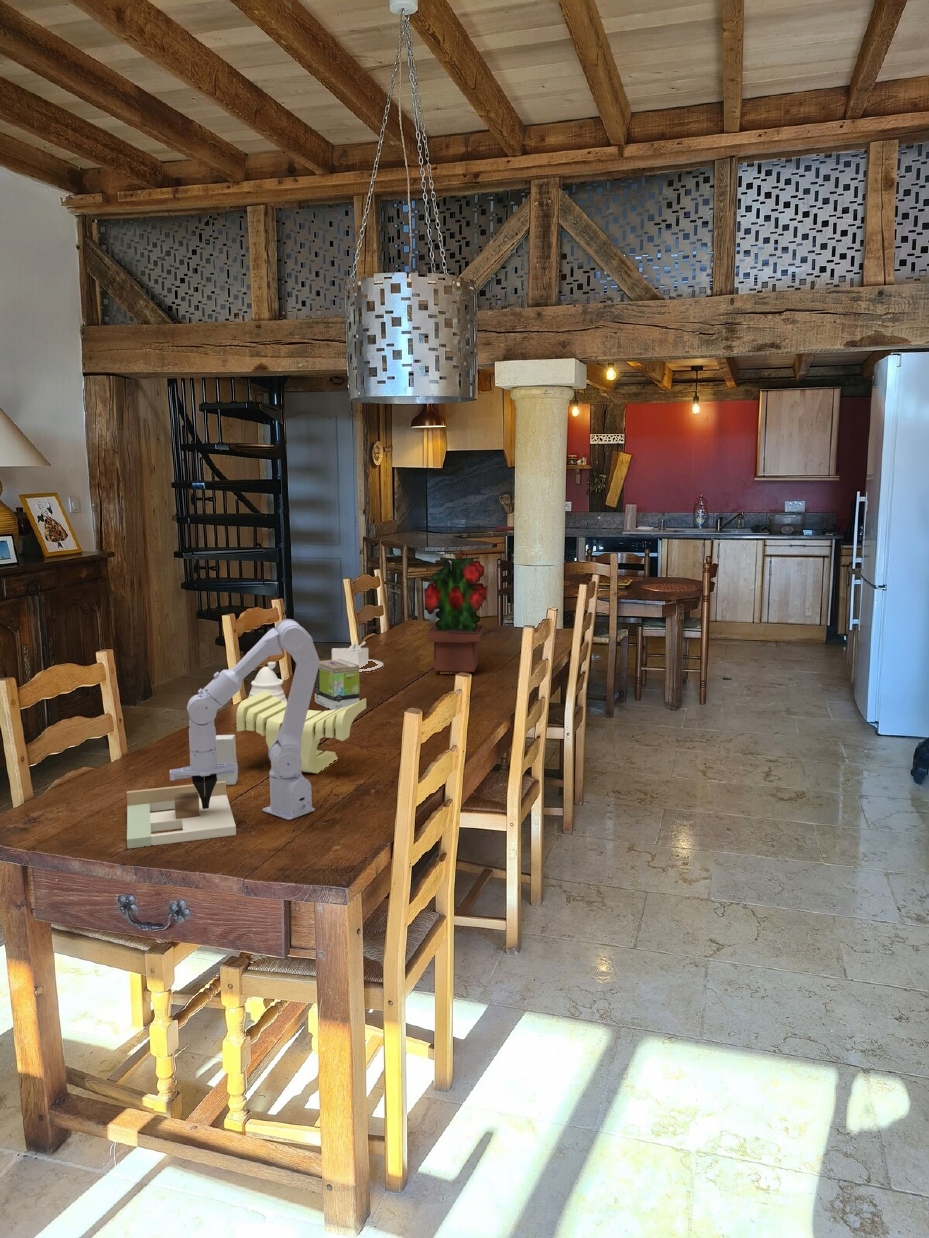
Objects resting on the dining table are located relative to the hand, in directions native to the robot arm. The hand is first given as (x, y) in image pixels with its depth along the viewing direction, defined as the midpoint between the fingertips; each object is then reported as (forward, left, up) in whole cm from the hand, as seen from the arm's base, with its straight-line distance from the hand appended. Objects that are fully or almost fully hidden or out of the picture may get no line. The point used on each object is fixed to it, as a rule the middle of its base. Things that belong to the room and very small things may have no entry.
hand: (205, 807), depth 203 cm
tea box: (+52, -91, -3) cm, 105 cm away
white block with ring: (+93, -139, -4) cm, 168 cm away
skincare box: (+17, -18, -3) cm, 25 cm away
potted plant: (+54, -158, -3) cm, 167 cm away
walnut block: (+2, +3, -1) cm, 4 cm away
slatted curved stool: (+12, -40, -3) cm, 42 cm away
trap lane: (+3, +5, -3) cm, 6 cm away
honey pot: (+58, -66, -3) cm, 88 cm away
